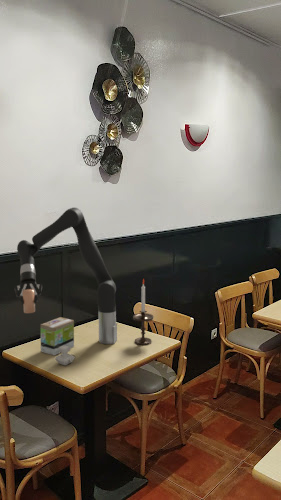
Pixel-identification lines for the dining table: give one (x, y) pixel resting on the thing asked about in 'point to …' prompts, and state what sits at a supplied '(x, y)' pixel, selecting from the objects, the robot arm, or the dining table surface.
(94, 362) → the dining table surface
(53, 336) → the tea box
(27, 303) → the tan rounded cylinder
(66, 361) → the white lumpy piece
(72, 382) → the dining table surface
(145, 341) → the candlestick
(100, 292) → the robot arm
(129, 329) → the dining table surface
